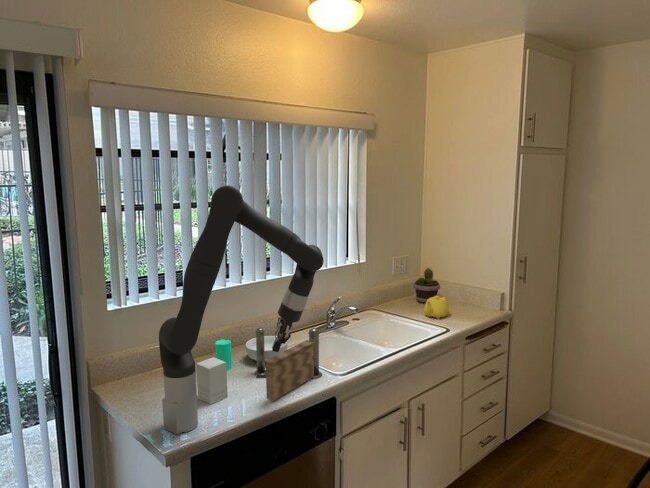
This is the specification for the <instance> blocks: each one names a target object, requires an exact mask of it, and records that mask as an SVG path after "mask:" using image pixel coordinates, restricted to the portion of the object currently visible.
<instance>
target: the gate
mask: <svg viewBox="0 0 650 488" xmlns="http://www.w3.org/2000/svg"><path fill="white" fill-rule="evenodd" d="M314 345H315V342H312V341H309V339H308V340H307V339H306V340H304V341H301V342H300V343H299V344H296V345H294V346H291V347H290V348H287V350H286V351H284V352H282V353H280V354H278V355H276V356H273V357H271V358H269V359H267V360H265V370H266V378H265V383H266V386H265V387H266V389H265V391H266V399H268V400H271V401H275V400H277V399H279V398H280V397H282V396H283V395H285V394H287V393H289V392H291V391H292V390H293V389H295V388H297V387H298V386H300V385H302V384H303V383H305V382H306V381H307V382H308V380H310V379H312V377H313V376H314Z"/></svg>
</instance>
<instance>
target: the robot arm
mask: <svg viewBox="0 0 650 488" xmlns="http://www.w3.org/2000/svg"><path fill="white" fill-rule="evenodd" d="M235 223H237V224H238V225H241V226H242V227H245V228H246V229H248V230H249V231H251V232H252V233H253V234H255V235H257V236H258V237H259V238H261V239H262V240H264V241H265V242H266V243H268V244H269V245H271V246H272V247H274V248H276V250H278V251H280V252H282V253H283V254H285V255H287V257H289V258H290V259H291V260H292V261H293V262H295V263H296V267H295V269H294V273H293V276H292V277H291V280H290V283H289V284H288V287H287V289H286V291H285V293H284V296H283V298H282V300H281V303H280V306H279V308H278V310H277V314H278V316H279V317H278V319H277V322H276V323H277V324H276V328H275V333H274V336H275V341H274V344H273V346H272V350H273V351H274V352H279V349H280V347H281V344H282V343H283V344H285V343H286V342H287V343H288V341H289V340H290V339H291V337H292V335H291V334H290V332H291V331H292V328H293V323H297V322H299V321H300V320H301V318H302V315H303V313H304V311H305V307H306V305H307V302H308V298H309V295H310V293H311V291H312V289H313V286H314V277H315V274H316V272H317V271H320V270H321V269H322V267H323V265H324V255H323V253H322V252H323V251H322V250H321V248H320V247H318V246H317V245H315V244H307V243H305V241H303V240H302V239H301V237H299V235H298V234H296V233H295V232H294V231H292V230H290V229H289V228H287V227H286V226H284V225H283V224H282V223H279V222H278V221H276V220H274V219H272V218H270V217H268V216H266V215H265V214H263V213H261V212H259V211H257V210H256V209H255V208H253V207H252V206H251V205H249V204H248V203H247V202H246V201H245V200H244V198H243V194H242V192H241V190H239V189H238V188H237V187H236V186H234V185H230V184H229V185H222V186H220V187H217V189H216V190H214V191H213V194H212V195H211V199H210V207H209V211H208V215H207V220H206V223H205V226H204V228H203V230H202V232H201V234H200V236H199V238H198V239H197V241H196V244H195V246H194V247H193V250H192V252H191V255H190V256H189V260H188V263H187V264H186V265H187V266H186V268H185V271H184V276H183V282H182V297H181V303H180V304H181V305H180V308H179V311H178V314H177V315H176V317H170V318H168V319H165V321H164V322H163V323H162V324H161V325H160V328H159V331H158V343H159V344H158V345H159V356H160V357H159V358H160V364H161V367H162V371H163V373H162V374H163V384H164V385H163V386H164V387H163V388H164V398H162V401H161V403H162V405H161V406H162V420H163V421H162V422H163V429H164V430H166V431H168V432H170V433H173V434H175V435H179V434H183V433H182V432H184V433H187V431H188V432H190V430H191V431H193V430H195V429H196V428H197V426H198V425H199V414H198V389H197V368H196V362H195V359H194V357H193V353H192V350H193V349H194V347H196V343H197V341H198V339H199V334H200V330H201V325H202V322H203V317H204V316H205V315H204V314H205V310H206V308H207V305H208V302H209V299H210V297H211V295H212V292H213V291H212V290H213V288H214V286H215V282H216V280H217V279H218V276H219V273H220V269H221V267H222V264H223V260H224V256H225V252H226V249H227V243H228V240H229V236H230V233H231V230H232V229H233V226H234V224H235Z"/></svg>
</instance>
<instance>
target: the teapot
mask: <svg viewBox="0 0 650 488" xmlns="http://www.w3.org/2000/svg"><path fill="white" fill-rule="evenodd" d="M449 308H450V307H449V304H448V300H447V297H446V296H443V297H442V296H441V297H440V295H437V296H435V297H431V298H429V299H428V300H427V302H426V304H425V305H424V310H423V311H424V314H425V316H427V318H431V317H433V318H435V319H436V320H441V318H445V317H446V316H447V315H448V313H449Z"/></svg>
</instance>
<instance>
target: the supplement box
mask: <svg viewBox="0 0 650 488" xmlns="http://www.w3.org/2000/svg"><path fill="white" fill-rule="evenodd" d="M195 368H196V387H197V399H199V400H201V401H203V402H205V403H206V404H208V405H213V404H215V403H217V402H219V401H222V400H224V399H227V398H228V396H229V395H228V379H227V378H228V377H227V376H228V375H227V374H228V373H227V371H226V362H224V361H222V360H219V359H217V358H216V357H210V358H207V359H205V360H202V361H199V362H195Z"/></svg>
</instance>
